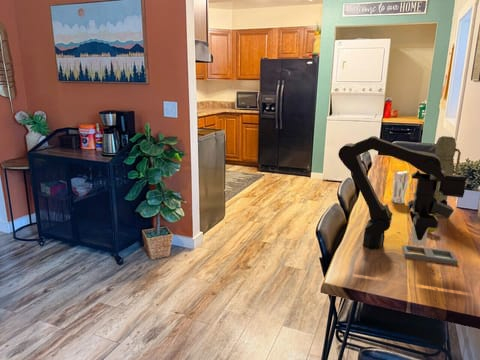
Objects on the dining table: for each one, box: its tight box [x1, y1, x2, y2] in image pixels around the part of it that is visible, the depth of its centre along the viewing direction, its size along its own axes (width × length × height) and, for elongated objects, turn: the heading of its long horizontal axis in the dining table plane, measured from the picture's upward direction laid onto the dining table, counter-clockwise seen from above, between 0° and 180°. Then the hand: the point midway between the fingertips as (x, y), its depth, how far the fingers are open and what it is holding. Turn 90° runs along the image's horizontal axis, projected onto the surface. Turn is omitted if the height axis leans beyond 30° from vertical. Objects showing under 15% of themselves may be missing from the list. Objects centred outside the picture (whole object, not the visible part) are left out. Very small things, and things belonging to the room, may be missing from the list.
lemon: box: [427, 214, 439, 234], centre depth 138 cm, size 6×6×8 cm
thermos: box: [428, 135, 462, 219], centre depth 156 cm, size 9×12×35 cm
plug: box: [409, 218, 428, 247], centre depth 118 cm, size 4×4×9 cm
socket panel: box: [401, 244, 459, 266], centre depth 119 cm, size 16×7×2 cm, turn 73°
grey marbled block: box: [391, 170, 410, 205], centre depth 175 cm, size 7×7×15 cm
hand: (418, 237), depth 118 cm, fingers closed on plug, 4 cm apart
